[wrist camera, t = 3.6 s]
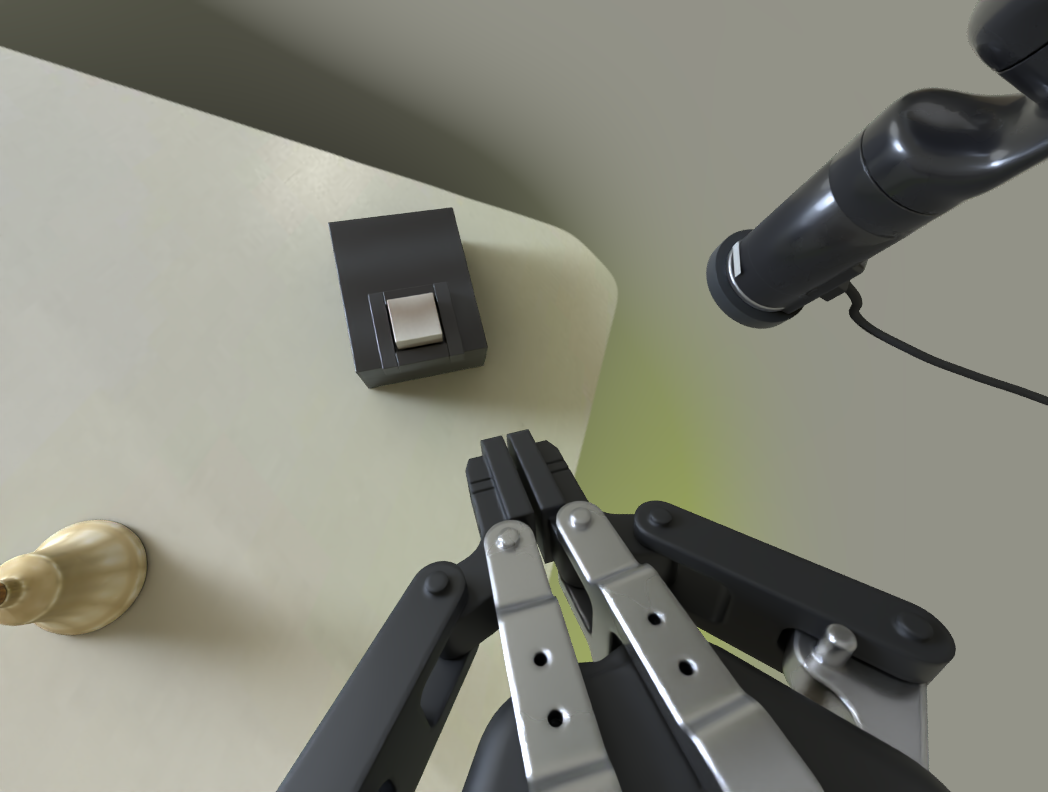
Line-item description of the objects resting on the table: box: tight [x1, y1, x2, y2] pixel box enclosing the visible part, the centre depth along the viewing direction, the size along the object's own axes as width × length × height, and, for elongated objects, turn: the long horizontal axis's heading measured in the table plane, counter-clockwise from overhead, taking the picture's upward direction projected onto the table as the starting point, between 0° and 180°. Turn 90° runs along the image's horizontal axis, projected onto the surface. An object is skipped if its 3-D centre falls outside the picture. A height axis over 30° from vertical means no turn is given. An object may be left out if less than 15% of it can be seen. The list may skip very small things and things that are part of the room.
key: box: [387, 293, 443, 350], centre depth 34 cm, size 4×4×2 cm
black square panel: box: [328, 208, 488, 388], centre depth 39 cm, size 15×11×7 cm
